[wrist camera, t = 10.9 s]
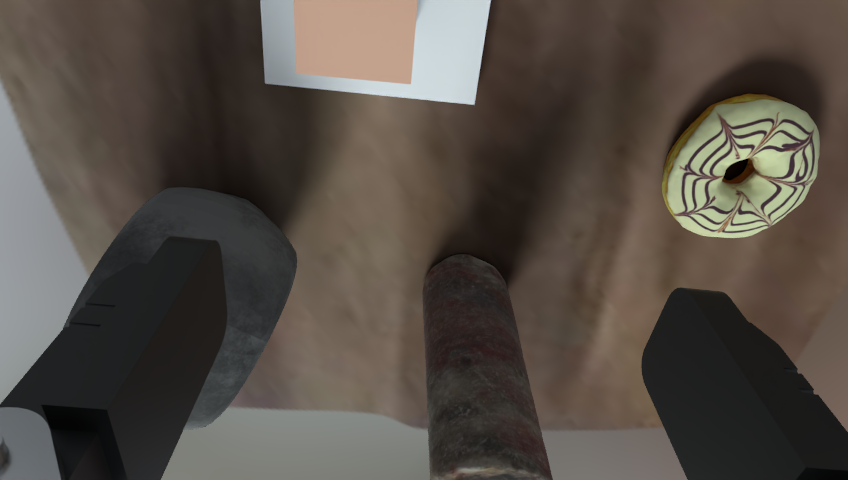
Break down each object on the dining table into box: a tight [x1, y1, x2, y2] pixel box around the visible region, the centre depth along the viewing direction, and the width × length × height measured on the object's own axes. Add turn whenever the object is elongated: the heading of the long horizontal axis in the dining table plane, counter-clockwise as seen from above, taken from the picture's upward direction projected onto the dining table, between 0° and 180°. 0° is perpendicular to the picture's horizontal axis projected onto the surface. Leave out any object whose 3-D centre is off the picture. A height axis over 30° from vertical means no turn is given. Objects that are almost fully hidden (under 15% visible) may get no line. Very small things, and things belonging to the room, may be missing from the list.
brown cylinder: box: [423, 254, 553, 480], centre depth 39 cm, size 8×7×20 cm
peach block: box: [294, 0, 418, 84], centre depth 25 cm, size 5×5×6 cm
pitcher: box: [63, 187, 297, 430], centre depth 32 cm, size 11×19×30 cm, turn 146°
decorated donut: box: [662, 94, 820, 238], centre depth 39 cm, size 10×11×4 cm
